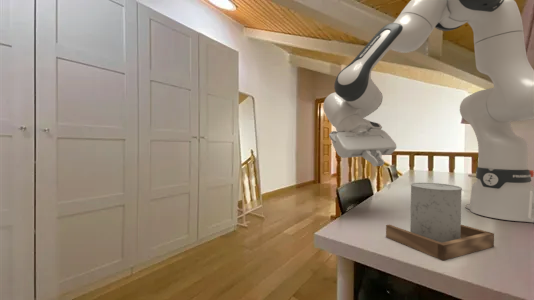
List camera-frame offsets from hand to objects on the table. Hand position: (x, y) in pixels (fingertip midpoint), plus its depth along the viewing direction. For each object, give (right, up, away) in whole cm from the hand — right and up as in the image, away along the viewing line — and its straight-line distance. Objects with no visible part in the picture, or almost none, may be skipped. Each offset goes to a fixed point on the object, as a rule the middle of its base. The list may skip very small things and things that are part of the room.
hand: (379, 164), depth 72 cm
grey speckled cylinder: (+6, -16, -14) cm, 23 cm away
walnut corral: (+6, -16, -15) cm, 23 cm away
